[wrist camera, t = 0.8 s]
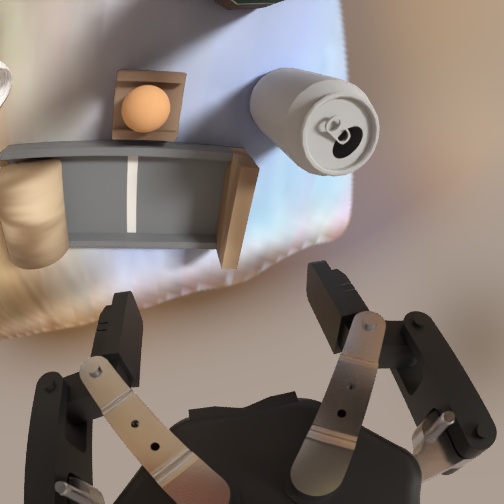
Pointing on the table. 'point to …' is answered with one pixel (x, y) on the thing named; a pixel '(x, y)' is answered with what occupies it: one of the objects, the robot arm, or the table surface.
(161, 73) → the tee
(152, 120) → the ball
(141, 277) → the table surface
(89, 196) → the lane
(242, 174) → the backstop
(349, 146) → the can
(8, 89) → the spread jar
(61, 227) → the log
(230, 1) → the beer bottle
